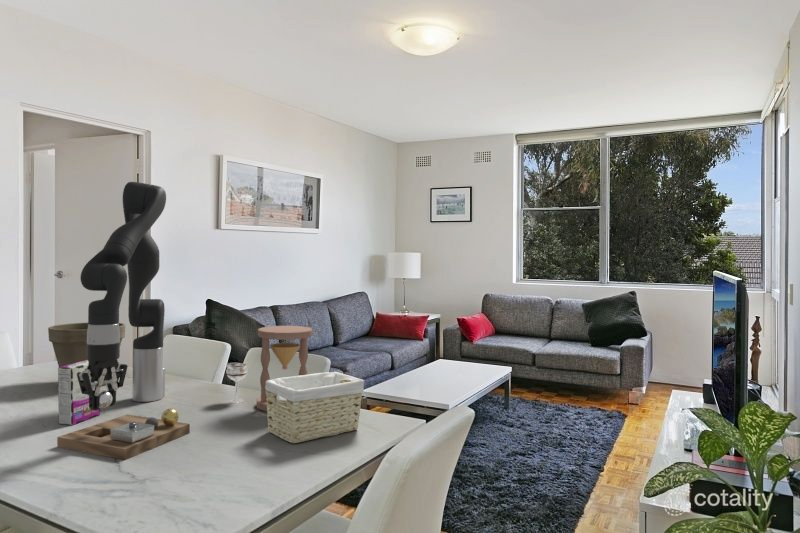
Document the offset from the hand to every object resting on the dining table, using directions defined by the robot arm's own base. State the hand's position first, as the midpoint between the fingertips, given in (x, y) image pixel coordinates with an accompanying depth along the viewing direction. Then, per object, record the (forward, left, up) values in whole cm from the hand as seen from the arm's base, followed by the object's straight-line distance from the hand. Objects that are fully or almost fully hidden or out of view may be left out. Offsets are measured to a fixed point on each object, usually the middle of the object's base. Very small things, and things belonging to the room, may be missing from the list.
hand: (102, 407), depth 146 cm
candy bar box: (-12, -22, -9) cm, 27 cm away
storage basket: (-30, +45, -9) cm, 55 cm away
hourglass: (-50, +23, -9) cm, 56 cm away
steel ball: (0, 0, 0) cm, 0 cm away
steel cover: (0, +10, -6) cm, 12 cm away
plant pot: (-45, -57, -9) cm, 73 cm away
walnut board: (-4, +4, -9) cm, 11 cm away
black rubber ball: (-7, +9, -7) cm, 13 cm away
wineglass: (-48, +6, -9) cm, 49 cm away
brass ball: (-12, +11, -7) cm, 17 cm away
